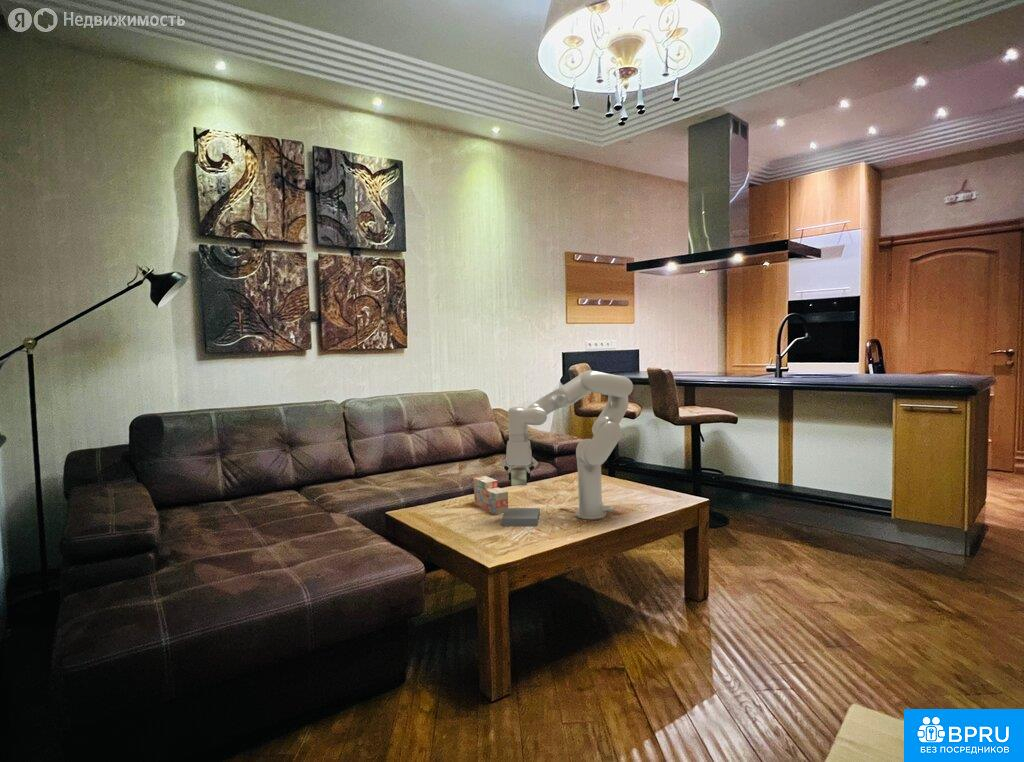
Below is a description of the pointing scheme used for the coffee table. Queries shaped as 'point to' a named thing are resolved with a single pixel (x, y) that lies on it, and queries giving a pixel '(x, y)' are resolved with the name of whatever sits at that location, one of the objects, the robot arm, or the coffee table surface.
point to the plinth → (521, 517)
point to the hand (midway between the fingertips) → (519, 481)
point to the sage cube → (518, 476)
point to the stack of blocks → (490, 495)
